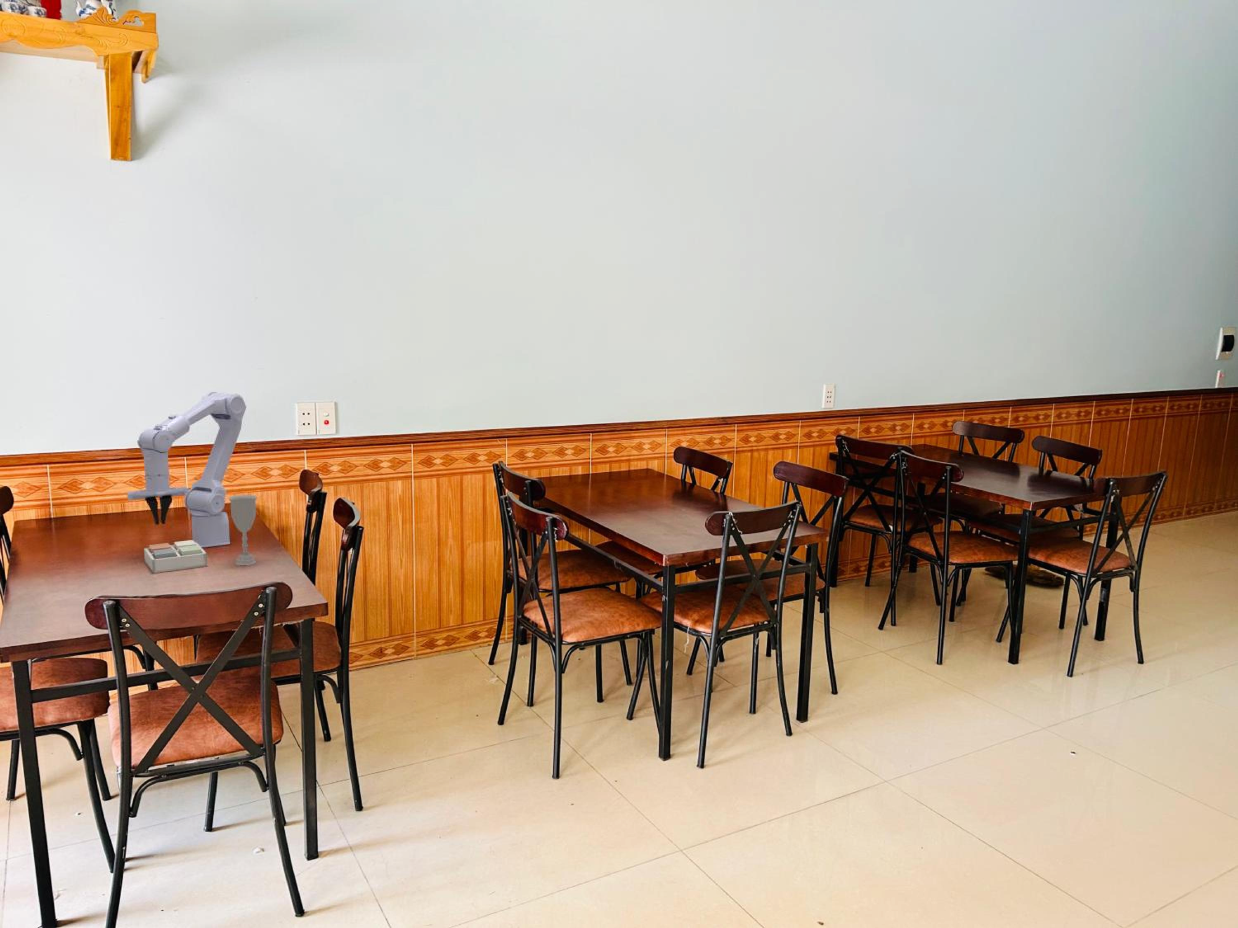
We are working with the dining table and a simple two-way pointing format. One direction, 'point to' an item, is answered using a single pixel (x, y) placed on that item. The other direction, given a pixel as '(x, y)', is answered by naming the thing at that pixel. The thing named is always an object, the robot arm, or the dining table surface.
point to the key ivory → (184, 544)
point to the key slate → (164, 553)
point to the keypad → (175, 561)
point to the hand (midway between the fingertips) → (160, 523)
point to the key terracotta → (159, 547)
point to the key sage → (189, 550)
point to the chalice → (243, 522)
